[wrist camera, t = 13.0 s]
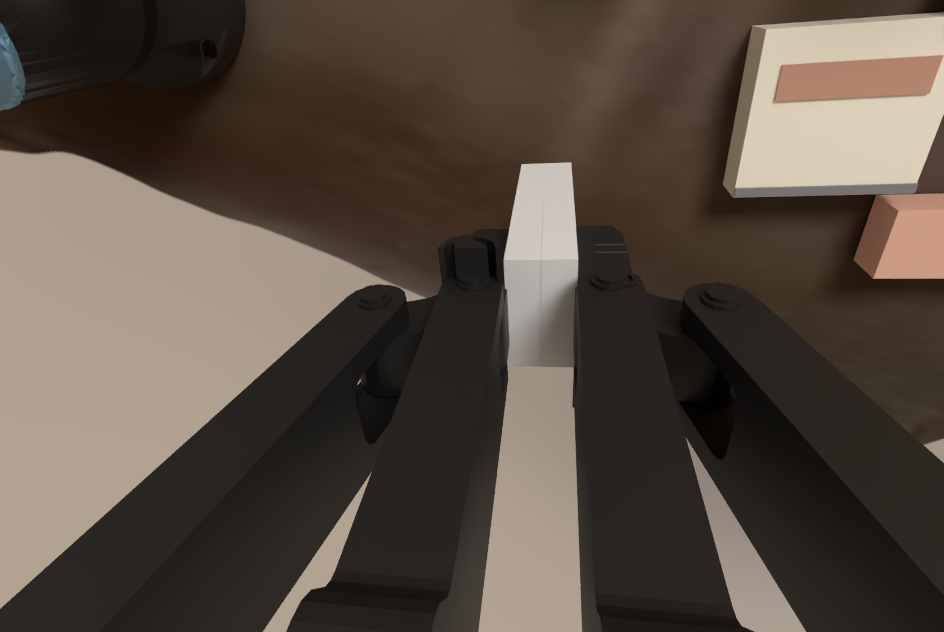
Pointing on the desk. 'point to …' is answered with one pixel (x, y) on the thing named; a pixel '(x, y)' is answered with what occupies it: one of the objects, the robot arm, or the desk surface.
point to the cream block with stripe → (837, 107)
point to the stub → (904, 237)
